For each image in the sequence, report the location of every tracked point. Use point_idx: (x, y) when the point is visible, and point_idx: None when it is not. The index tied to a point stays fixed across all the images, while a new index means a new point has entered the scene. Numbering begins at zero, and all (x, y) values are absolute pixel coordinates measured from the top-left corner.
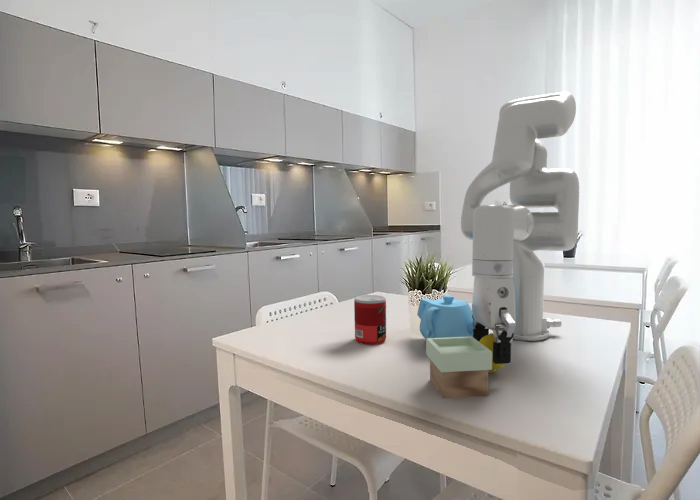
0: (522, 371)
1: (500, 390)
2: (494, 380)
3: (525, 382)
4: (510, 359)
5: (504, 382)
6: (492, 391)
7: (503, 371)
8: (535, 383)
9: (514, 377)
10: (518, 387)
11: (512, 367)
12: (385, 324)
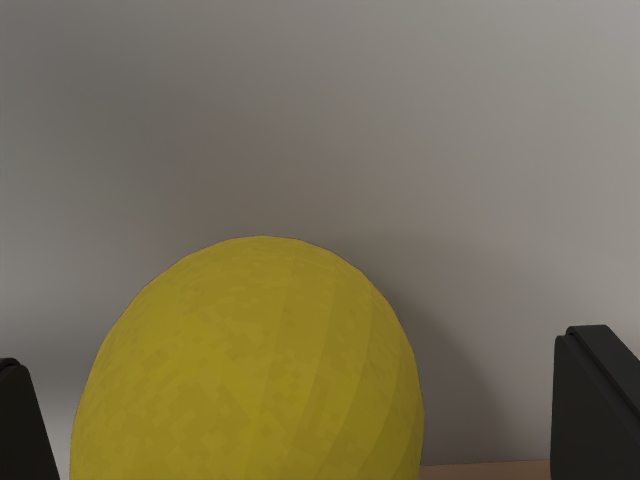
0: (252, 11)
1: (628, 347)
2: (442, 328)
3: (514, 95)
4: (618, 340)
5: (490, 269)
6: None
7: (253, 192)
8: (549, 10)
9: (394, 148)
10: (604, 198)
11: (149, 71)
12: None
